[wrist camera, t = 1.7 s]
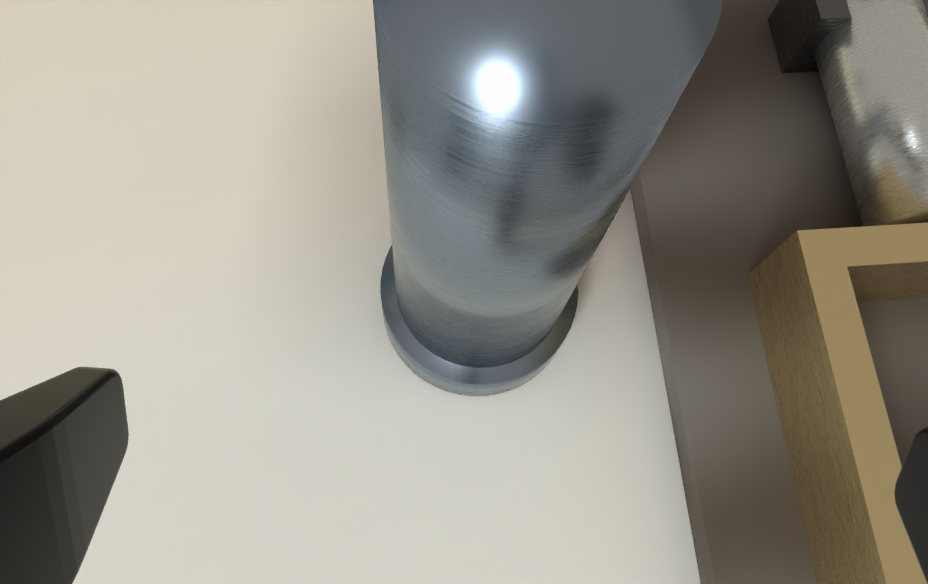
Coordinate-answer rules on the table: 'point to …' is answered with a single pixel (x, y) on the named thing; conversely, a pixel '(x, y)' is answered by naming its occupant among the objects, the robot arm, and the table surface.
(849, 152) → the socket
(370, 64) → the table surface
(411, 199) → the steel coupler
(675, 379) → the shaft board
